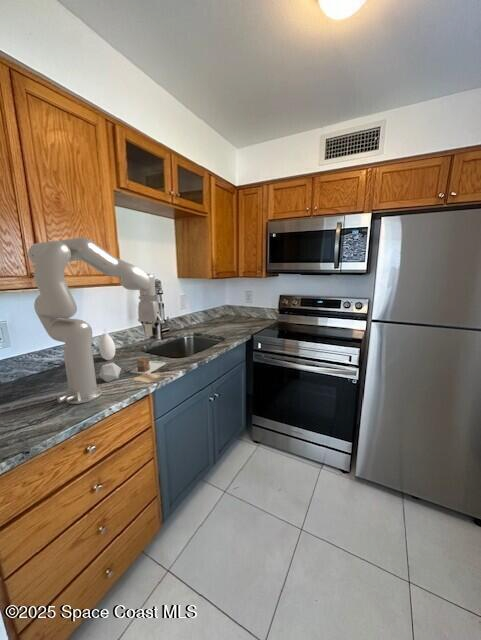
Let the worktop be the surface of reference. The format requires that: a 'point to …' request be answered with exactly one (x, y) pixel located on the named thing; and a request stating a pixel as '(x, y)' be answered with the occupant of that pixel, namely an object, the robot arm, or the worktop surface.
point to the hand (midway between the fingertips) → (151, 334)
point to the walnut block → (143, 364)
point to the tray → (153, 366)
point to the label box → (148, 329)
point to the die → (109, 372)
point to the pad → (146, 377)
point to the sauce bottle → (107, 347)
